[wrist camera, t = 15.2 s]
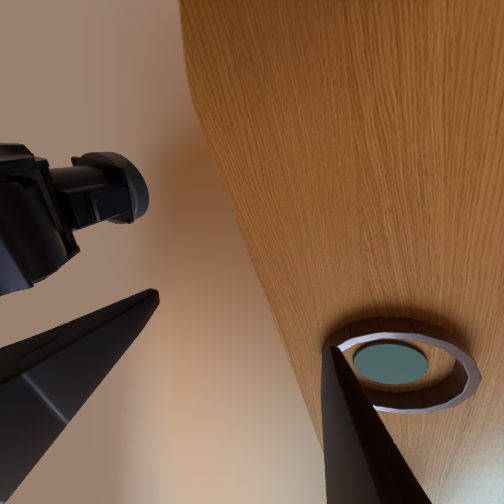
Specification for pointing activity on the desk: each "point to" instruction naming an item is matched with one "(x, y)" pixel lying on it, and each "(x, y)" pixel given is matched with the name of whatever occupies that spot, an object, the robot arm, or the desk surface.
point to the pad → (390, 362)
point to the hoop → (465, 368)
